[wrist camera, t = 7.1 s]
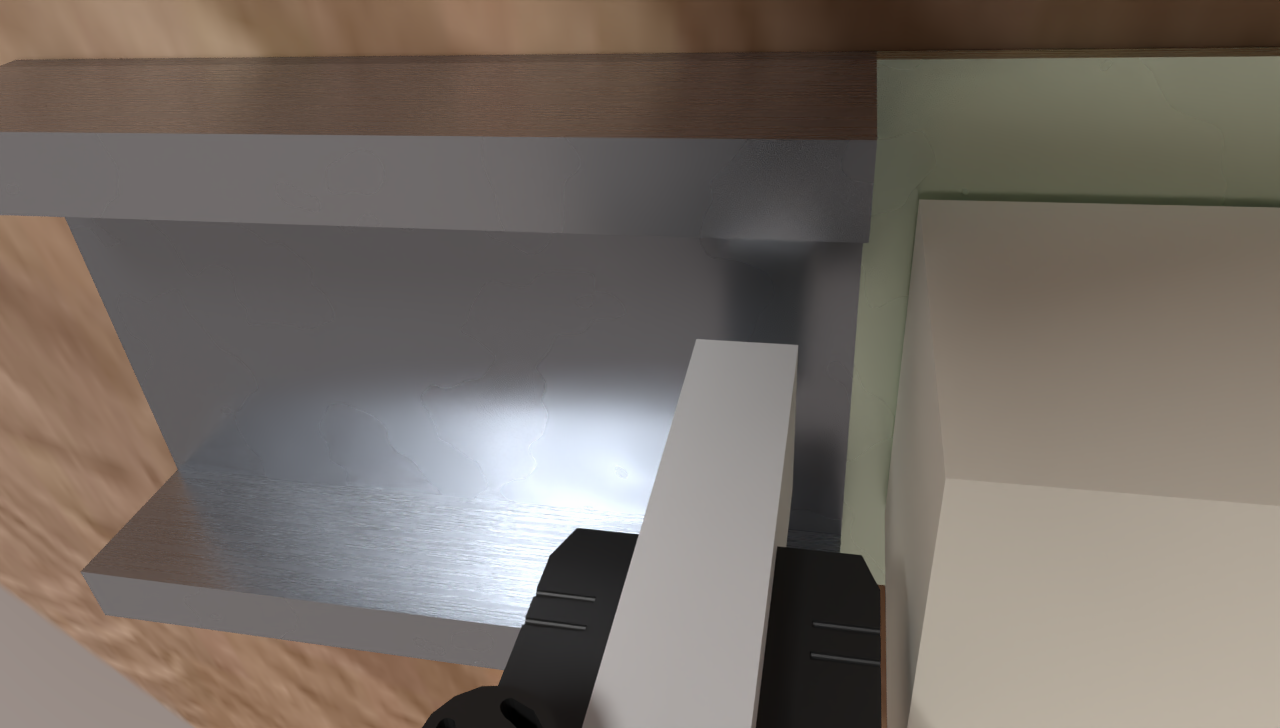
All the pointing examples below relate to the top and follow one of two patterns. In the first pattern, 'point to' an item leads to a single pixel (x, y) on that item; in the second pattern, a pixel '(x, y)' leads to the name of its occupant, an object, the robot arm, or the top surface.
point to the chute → (539, 287)
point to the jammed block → (1087, 469)
